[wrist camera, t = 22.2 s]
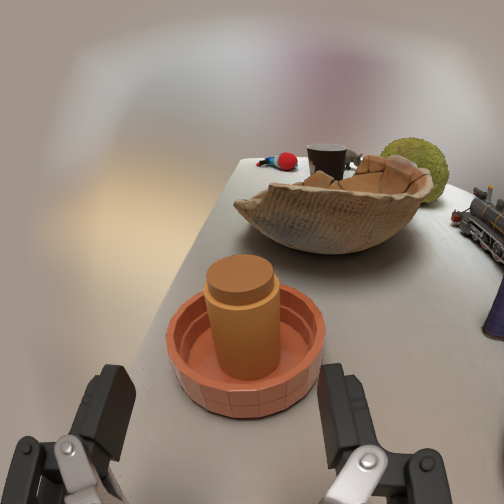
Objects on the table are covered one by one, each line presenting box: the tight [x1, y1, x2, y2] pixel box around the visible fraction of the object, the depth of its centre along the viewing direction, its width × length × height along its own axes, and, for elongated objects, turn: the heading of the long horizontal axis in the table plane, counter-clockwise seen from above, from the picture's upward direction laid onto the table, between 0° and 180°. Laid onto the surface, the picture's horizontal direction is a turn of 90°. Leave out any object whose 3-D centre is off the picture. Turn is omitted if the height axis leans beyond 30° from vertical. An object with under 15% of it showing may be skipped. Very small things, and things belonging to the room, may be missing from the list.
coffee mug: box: [307, 144, 347, 181], centre depth 64 cm, size 12×9×10 cm
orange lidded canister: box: [203, 254, 280, 381], centre depth 24 cm, size 6×6×9 cm
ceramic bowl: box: [233, 155, 434, 254], centre depth 43 cm, size 30×27×15 cm
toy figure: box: [256, 153, 298, 170], centre depth 84 cm, size 8×5×15 cm
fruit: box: [380, 137, 449, 203], centre depth 56 cm, size 16×14×15 cm
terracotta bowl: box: [166, 284, 326, 418], centre depth 25 cm, size 13×13×4 cm
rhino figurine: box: [344, 149, 362, 170], centre depth 80 cm, size 4×14×6 cm, turn 50°
